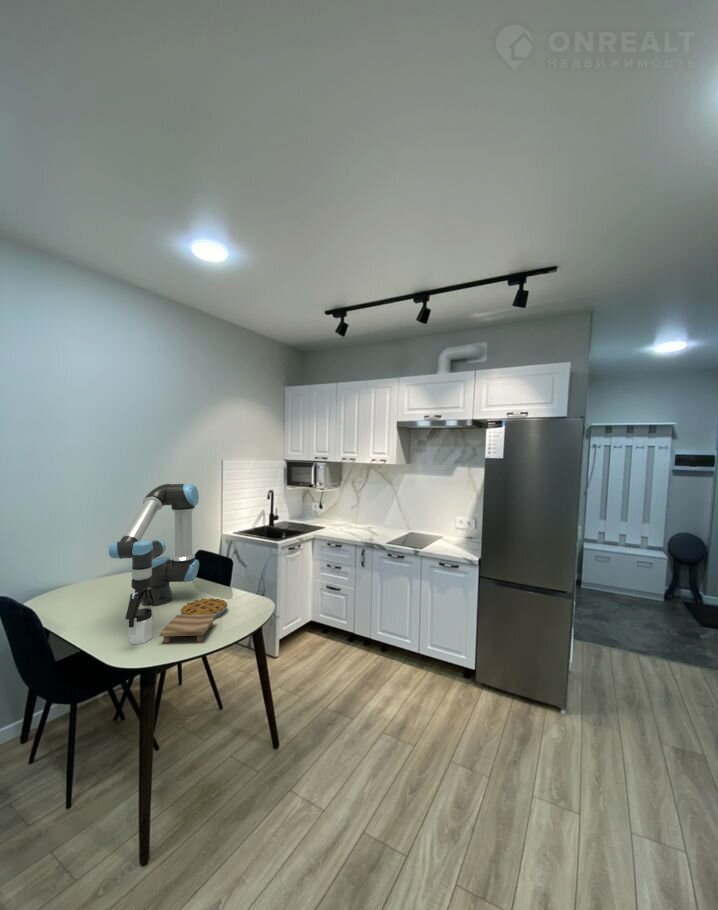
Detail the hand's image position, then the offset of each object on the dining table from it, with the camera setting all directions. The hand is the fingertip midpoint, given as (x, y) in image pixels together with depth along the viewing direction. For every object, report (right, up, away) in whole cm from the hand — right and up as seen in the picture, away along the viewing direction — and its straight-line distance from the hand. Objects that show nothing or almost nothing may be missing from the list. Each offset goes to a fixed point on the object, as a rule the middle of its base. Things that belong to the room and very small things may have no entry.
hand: (140, 627), depth 159 cm
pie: (+16, -7, +28) cm, 33 cm away
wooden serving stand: (+19, -6, +6) cm, 20 cm away
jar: (0, -6, 0) cm, 6 cm away
